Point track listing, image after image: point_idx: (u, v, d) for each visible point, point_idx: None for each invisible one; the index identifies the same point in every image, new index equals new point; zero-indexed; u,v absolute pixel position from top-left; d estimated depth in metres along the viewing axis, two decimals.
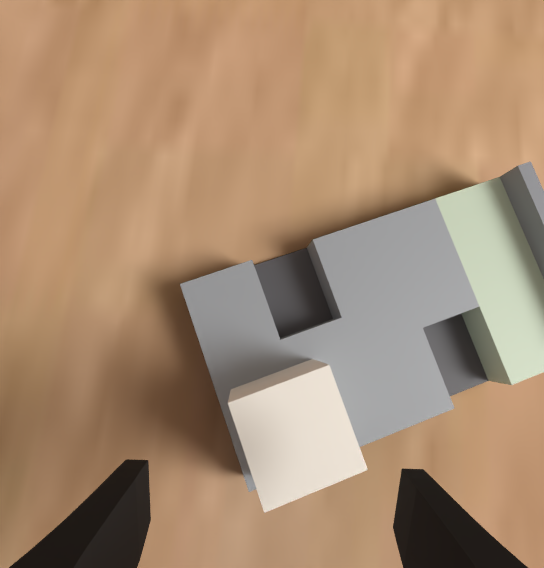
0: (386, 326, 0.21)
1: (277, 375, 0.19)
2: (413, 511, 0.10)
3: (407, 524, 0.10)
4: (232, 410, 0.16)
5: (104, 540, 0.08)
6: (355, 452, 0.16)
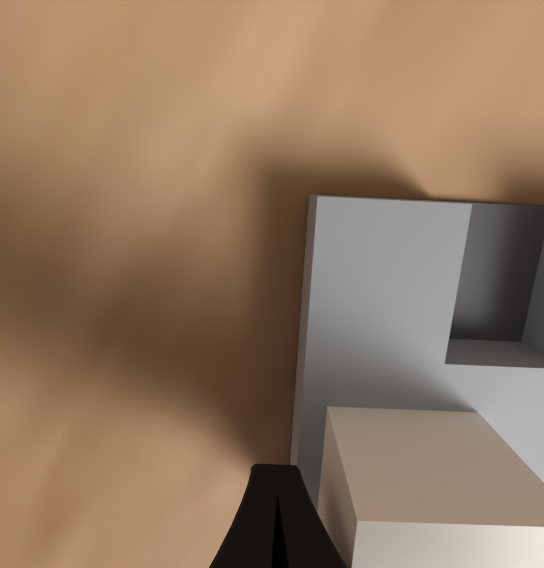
0: None
1: (426, 437, 0.10)
2: None
3: None
4: (360, 536, 0.08)
5: None
6: None
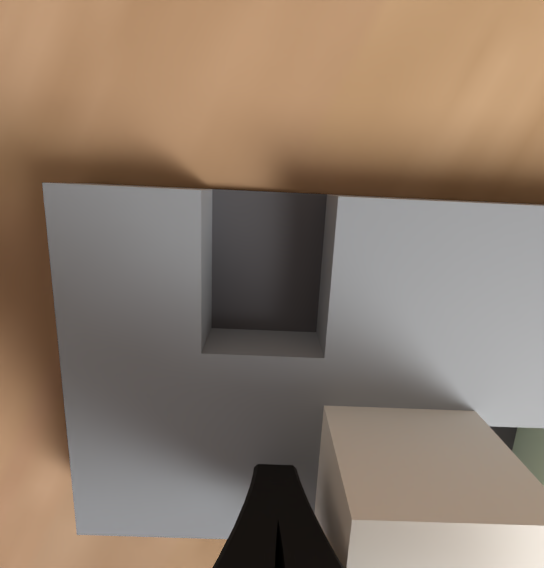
0: (394, 400, 0.11)
1: (422, 436, 0.10)
2: None
3: None
4: (355, 535, 0.08)
5: (276, 545, 0.08)
6: None
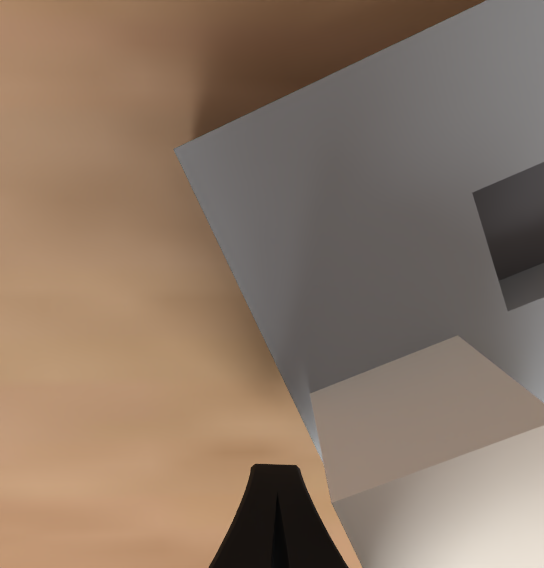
0: None
1: None
2: None
3: None
4: None
5: (272, 545, 0.08)
6: None
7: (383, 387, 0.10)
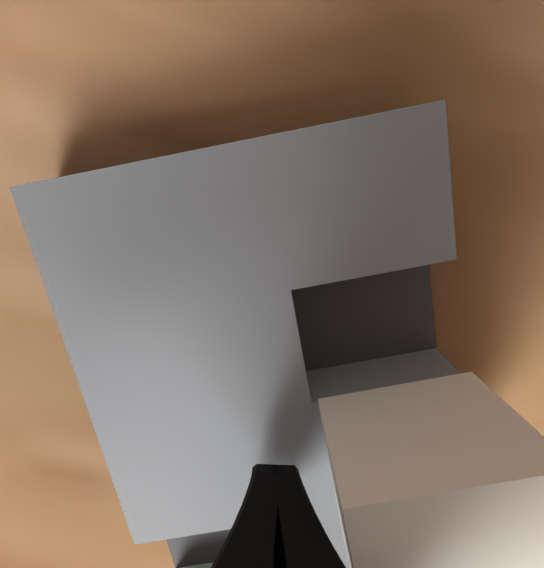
0: None
1: None
2: None
3: None
4: None
5: (274, 545, 0.08)
6: None
7: (395, 407, 0.10)
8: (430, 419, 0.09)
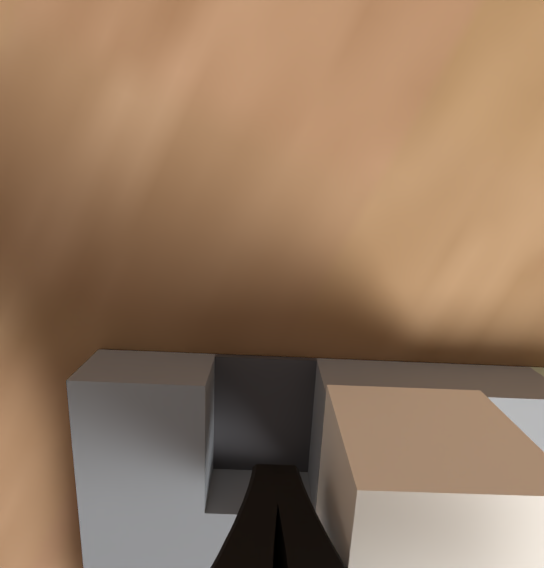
0: None
1: (427, 413, 0.10)
2: None
3: None
4: (360, 506, 0.07)
5: (274, 545, 0.08)
6: None
7: (325, 485, 0.11)
8: (331, 487, 0.10)
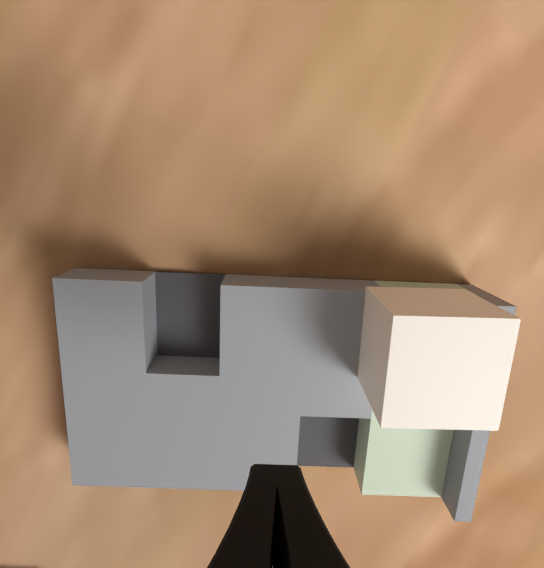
0: (263, 401, 0.19)
1: (431, 296, 0.16)
2: (276, 507, 0.10)
3: None
4: (395, 325, 0.14)
5: (271, 545, 0.08)
6: (496, 411, 0.14)
7: (366, 348, 0.17)
8: (372, 342, 0.16)
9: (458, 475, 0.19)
